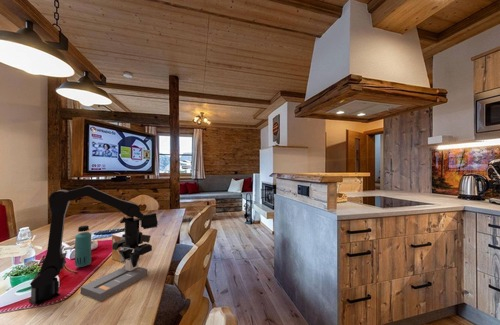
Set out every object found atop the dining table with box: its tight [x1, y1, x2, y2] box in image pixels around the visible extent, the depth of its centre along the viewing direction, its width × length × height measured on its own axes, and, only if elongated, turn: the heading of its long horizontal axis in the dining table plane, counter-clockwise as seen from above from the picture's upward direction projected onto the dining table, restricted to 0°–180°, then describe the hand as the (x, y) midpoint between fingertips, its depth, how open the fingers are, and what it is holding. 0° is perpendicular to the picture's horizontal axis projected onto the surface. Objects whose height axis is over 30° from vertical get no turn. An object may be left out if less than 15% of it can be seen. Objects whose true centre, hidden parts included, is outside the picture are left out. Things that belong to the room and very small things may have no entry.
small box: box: [111, 231, 126, 263], centre depth 111 cm, size 8×6×13 cm
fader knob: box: [125, 258, 139, 271], centre depth 93 cm, size 4×3×6 cm
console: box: [80, 265, 148, 302], centre depth 87 cm, size 20×12×3 cm, turn 157°
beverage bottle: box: [74, 224, 92, 268], centre depth 101 cm, size 6×7×20 cm
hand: (132, 266), depth 93 cm, fingers closed on fader knob, 3 cm apart
